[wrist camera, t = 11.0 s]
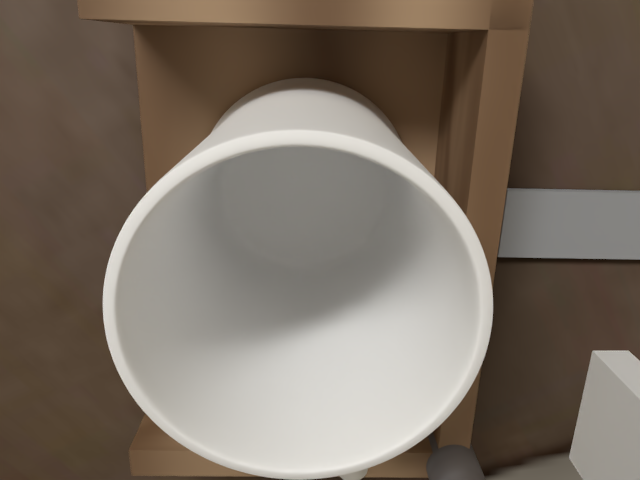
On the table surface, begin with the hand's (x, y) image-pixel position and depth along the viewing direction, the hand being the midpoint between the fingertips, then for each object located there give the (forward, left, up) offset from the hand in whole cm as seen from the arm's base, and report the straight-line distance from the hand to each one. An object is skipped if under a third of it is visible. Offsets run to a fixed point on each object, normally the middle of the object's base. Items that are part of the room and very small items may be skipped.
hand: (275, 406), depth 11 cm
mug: (+1, 0, -13) cm, 13 cm away
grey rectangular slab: (+12, 0, -13) cm, 18 cm away
